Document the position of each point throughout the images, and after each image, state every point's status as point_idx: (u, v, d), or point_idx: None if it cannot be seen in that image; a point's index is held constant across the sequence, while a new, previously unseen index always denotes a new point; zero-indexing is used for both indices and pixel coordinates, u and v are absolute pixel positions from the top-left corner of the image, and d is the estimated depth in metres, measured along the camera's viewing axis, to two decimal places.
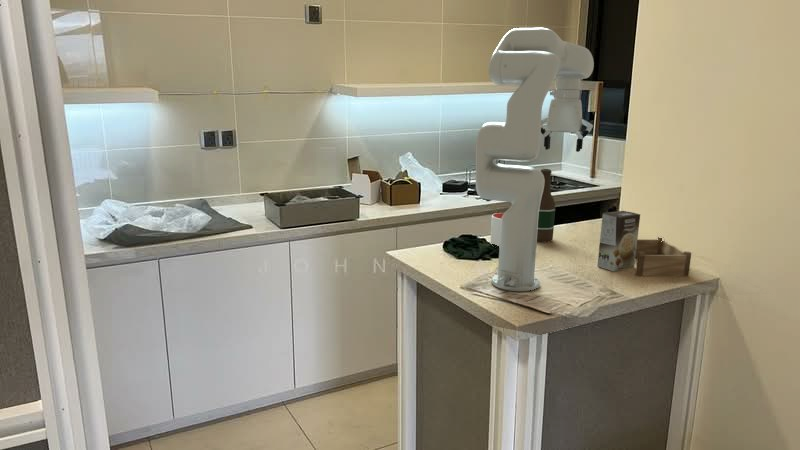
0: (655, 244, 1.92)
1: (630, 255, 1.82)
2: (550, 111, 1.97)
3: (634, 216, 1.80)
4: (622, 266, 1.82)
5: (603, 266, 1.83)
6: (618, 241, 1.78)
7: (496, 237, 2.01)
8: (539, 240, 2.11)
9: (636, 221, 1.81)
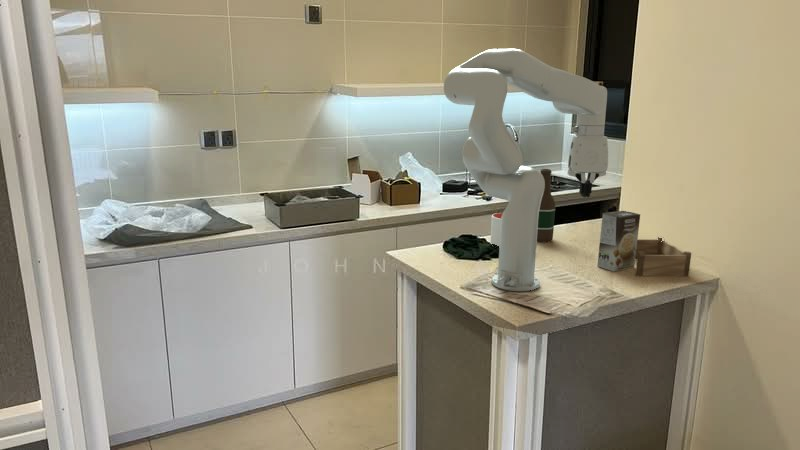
0: (655, 244, 1.92)
1: (630, 255, 1.82)
2: (577, 150, 1.74)
3: (634, 216, 1.80)
4: (622, 266, 1.82)
5: (603, 266, 1.83)
6: (618, 241, 1.78)
7: (496, 237, 2.01)
8: (539, 240, 2.11)
9: (636, 221, 1.81)
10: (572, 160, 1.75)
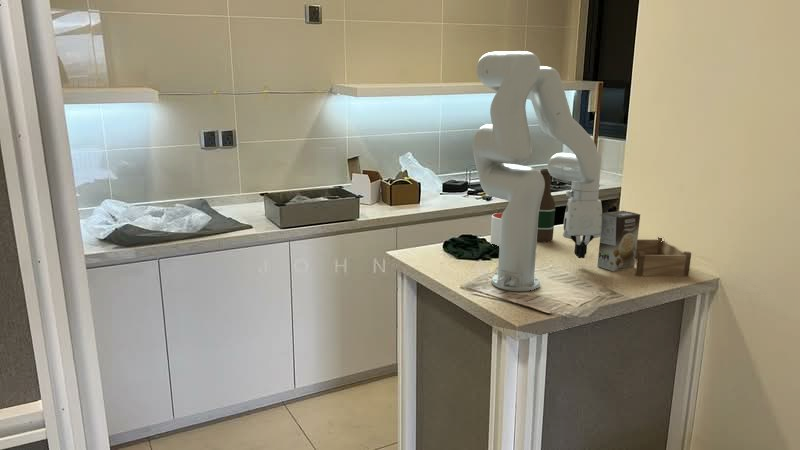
0: (655, 244, 1.92)
1: (630, 255, 1.82)
2: (572, 214, 1.78)
3: (634, 216, 1.80)
4: (622, 266, 1.82)
5: (603, 266, 1.83)
6: (618, 241, 1.78)
7: (496, 237, 2.01)
8: (539, 240, 2.11)
9: (636, 221, 1.81)
10: (567, 223, 1.79)
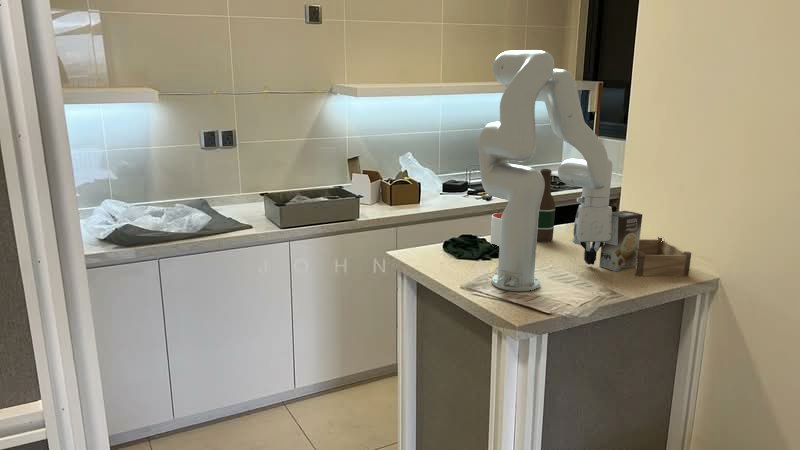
0: (655, 244, 1.92)
1: (632, 255, 1.82)
2: (582, 220, 1.78)
3: (636, 216, 1.80)
4: (624, 266, 1.82)
5: (605, 266, 1.83)
6: (620, 241, 1.78)
7: (496, 237, 2.01)
8: (539, 240, 2.11)
9: (639, 220, 1.81)
10: (577, 229, 1.80)
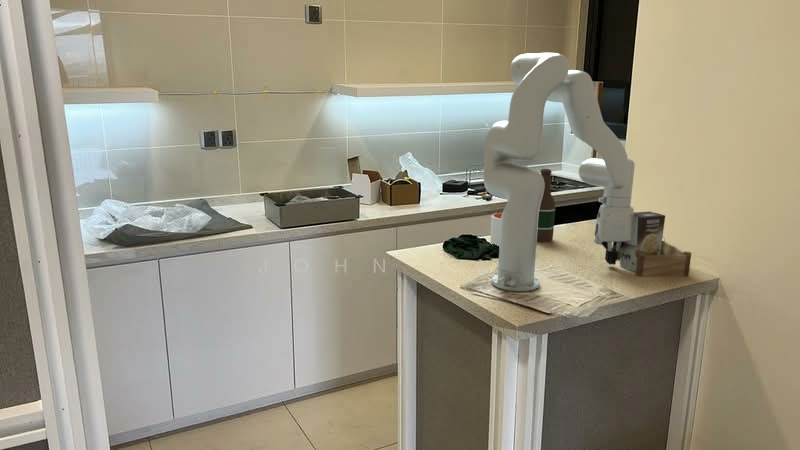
0: None
1: None
2: (604, 220, 1.79)
3: (658, 217, 1.79)
4: None
5: (625, 266, 1.83)
6: (639, 241, 1.78)
7: (496, 237, 2.01)
8: (539, 240, 2.11)
9: (661, 222, 1.80)
10: (599, 229, 1.80)
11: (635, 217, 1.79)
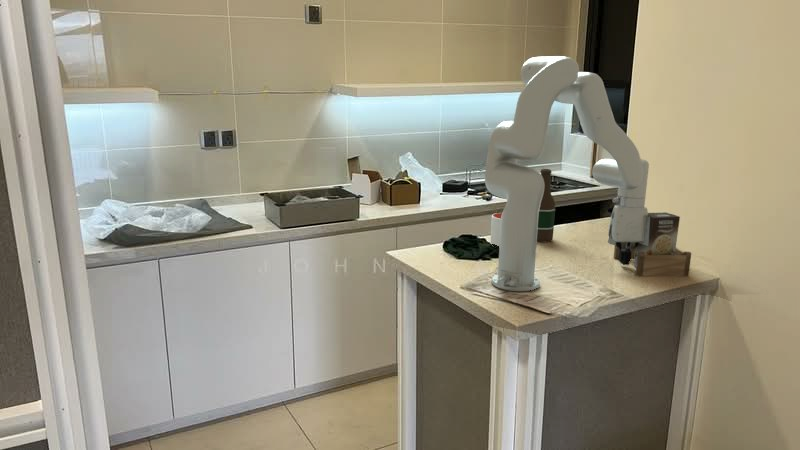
0: None
1: None
2: (618, 221, 1.79)
3: (671, 218, 1.78)
4: None
5: None
6: (651, 241, 1.78)
7: (496, 237, 2.01)
8: (539, 240, 2.11)
9: (675, 223, 1.79)
10: (613, 230, 1.80)
11: (647, 217, 1.79)
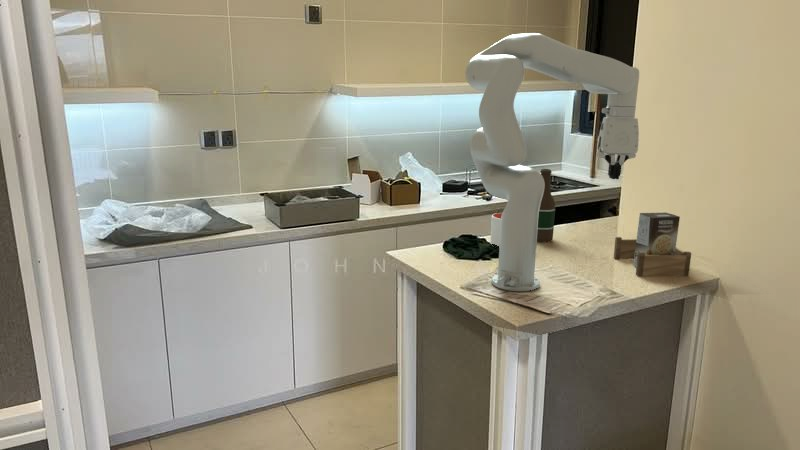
0: None
1: None
2: (607, 131, 1.73)
3: (671, 218, 1.78)
4: None
5: None
6: (650, 241, 1.78)
7: (496, 237, 2.01)
8: (539, 240, 2.11)
9: (675, 223, 1.79)
10: (602, 141, 1.74)
11: (647, 217, 1.79)
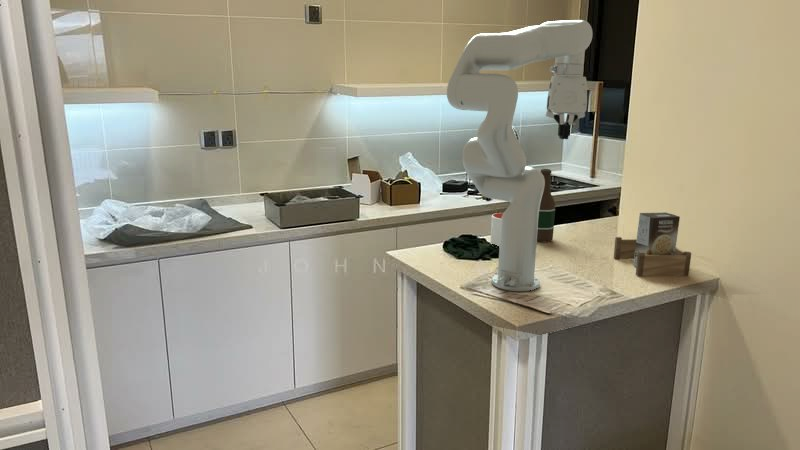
0: None
1: None
2: (555, 90, 1.70)
3: (671, 218, 1.78)
4: None
5: None
6: (650, 241, 1.78)
7: (496, 237, 2.01)
8: (539, 240, 2.11)
9: (675, 223, 1.79)
10: (550, 100, 1.72)
11: (647, 217, 1.79)
